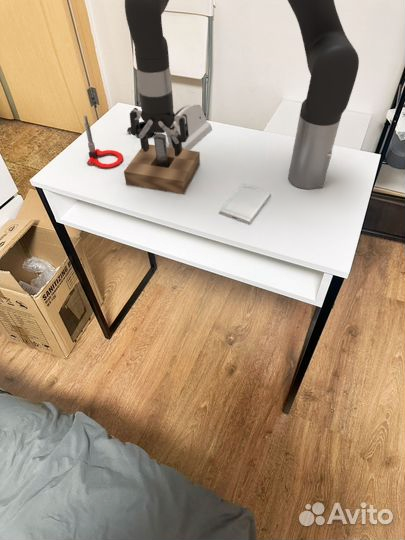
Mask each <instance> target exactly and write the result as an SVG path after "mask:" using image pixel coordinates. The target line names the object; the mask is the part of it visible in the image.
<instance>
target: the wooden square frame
mask: <svg viewBox="0 0 405 540" xmlns="http://www.w3.org/2000/svg"><path fill="white" fill-rule="evenodd" d="M200 154H201V153H200V151H195V150H183V149H182V152H181V153H180V155H179V156H178V157H177V156H175V151H174V148H170V146H167V155H168V166H169V168H165V167H159V166H157V161H156V152H155V144H150V143H149V149H148V151H147V152H144V151H143V149H142V148H141V147H140V148H139V150H138V152H137V153H136V154H135V156H134V157H133V158H132V160H131V161H130V162H129V164H128V165H127V166H126V168H125V169H124V171H123V174H124V179H125V185H127V186H133V187H140V188H144V189H150V190H156V191H160V192H161V191H162V192H165V193H166V192H167V193H171V194H179V195H185V193H186V192H187V190H188V187H189V186H190V185H191V182H192V180H193V178H194V176H195V175H196V173H197V171H198V169H199V167H200V165H201V162H200V161H201V160H200V156H201V155H200Z"/></svg>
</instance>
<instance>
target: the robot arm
mask: <svg viewBox="0 0 405 540" xmlns="http://www.w3.org/2000/svg"><path fill="white" fill-rule="evenodd" d="M169 1H170V0H124V13H125V17H126V18H125V19H126V21H127V27H128V29H129V33H130V37H131V40H132V41H133V45H134V56H135V63H136V69H137V70H136V72H137V74H136V75H137V76H136V77H137V79H136V80H137V88H138V94H139V95H138V96H139V102H140V108H141V110H139V109H138V108H137V107H134V108H133V109H131V111H130V112H129V121H130V127H131V132H130V133H131V134H132V135H133V136H136V135H137V136H139V138H138V139H139V141H140V149H141V148H142V149H143V151H144V152H147V151H148V149H149V144H150V143H149V138H148V135H146V133H147V132H148V130H149V129H151V130H152V131H153V132H157V131H158V132H161V133H160V134H167V135H168V136H169V137H171V138H172V140H173V141H174V142H175V143H174V151H175V156H177V157H178V156H179V155H180V153H181V152H182V142H186V140H187V138H188V137H189V132H188V122H187V116H186V115H185V114H183V115H182V116H175V114H174V112H175V111H174V99H173V98H174V97H173V86H172V85H173V84H172V83H173V82H172V74H171V69H170V59H169V58H170V57H169V56H170V55H169V45H168V42H167V41H168V40H167V39H166V37H165V36H164V33H163V31H164V30H163V22H162V21H163V20H162V14H163V13H164V12H165V9H166V8H167V6H168V4H169ZM287 2H288V3H289V6H290V8H291V10H292V11H293V14H294V16H295V18H296V21H297V23H298V26H299V30H300V34H301V39H302V42H303V49H304V53H305V57H306V64H307V68H308V69H307V70H308V71H309V74H310V80H309V85H308V88H307V89H308V90H307V94H306V98H305V99H304V100H303V102H301V106H300V112H299V117H298V122H297V126H296V127H297V128H296V133H295V139H294V144H293V147H292V154H291V160H290V165H289V169H288V175H287V179H288V181H289V182H290V183H291V185H293V186H294V187H296V188H300V189H303V190H304V189H305V190H314V189H319V188H320V189H323V187H324V184H325V181H326V180H325V179H326V176H327V173H328V171H329V170H328V169H329V166H330V162H331V158H332V154H333V153H332V152H333V148H334V144H335V141H336V136H337V133H338V129H339V126H340V122H341V119H342V115H343V113H344V112H345V110H346V109H347V107H348V104H349V102H350V99H351V95H352V93H353V89H354V86H355V83H356V79H357V76H358V70H359V66H360V65H359V64H360V58H359V55H358V52H357V51H356V49H355V48H354V46H353V44H352V43H351V41H350V40H349V38H348V37H347V35H346V33H345V31H344V30H345V29H344V27H343V25H342V21H341V20H340V17H339V13H338V10H337V7H336V4H335V0H287ZM140 118H141V119H142V122H145V123H146V125H145V126H144V128H143V129H140V126H139V122H140ZM174 121H176V122H177V124H178V126H180V133H179V132H178V130H177V127H176V126H175V124H174ZM169 128H171V130H170V129H169ZM132 135H131V136H132ZM167 135H166V136H167ZM137 136H136V137H137Z"/></svg>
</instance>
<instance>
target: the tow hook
mask: <svg viewBox="0 0 405 540" xmlns="http://www.w3.org/2000/svg"><path fill="white" fill-rule="evenodd" d="M83 118H84V119H83V120H84V126H85V127H84V128H85V131H86V138H87V141H88V143H87V145H88V151H89V152H88V157H89V159H88V160H87V162H86V165H87V166H89V167H92V166H95V167H96V168H98V169H99V168H100V169H103V170H112V169H115V168H118V167H120V166H121V165H122V164H123V162H124V156H123V154H122V153H121V152H119V151H117V150H113V149H108V150H107V149H106V150H101V149H99V148H96V146H95V142H94V139H93V136H92V135H93V134H92V131H91V125H90V123H89V120H88V116H87V115H83ZM105 156H114V157H116V158H117V160H116V161H114V162H111V163H103V162H101V161H100V160H99V159H98V158H99V157H100V158H102V157H105Z"/></svg>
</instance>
